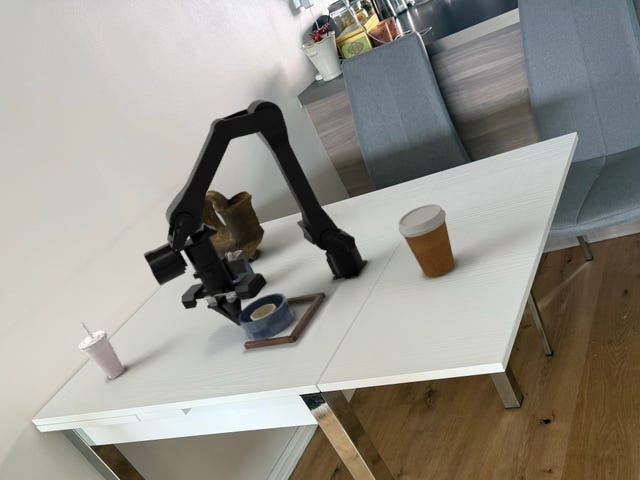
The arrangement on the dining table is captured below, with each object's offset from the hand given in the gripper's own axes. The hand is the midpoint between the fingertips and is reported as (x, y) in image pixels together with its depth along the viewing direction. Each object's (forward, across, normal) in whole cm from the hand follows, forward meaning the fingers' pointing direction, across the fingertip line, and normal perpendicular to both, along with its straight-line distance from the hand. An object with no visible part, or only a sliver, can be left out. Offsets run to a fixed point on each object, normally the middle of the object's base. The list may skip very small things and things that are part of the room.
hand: (241, 324), depth 146 cm
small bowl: (+1, -7, 0) cm, 7 cm away
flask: (+2, +9, -18) cm, 20 cm away
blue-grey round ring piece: (+2, -7, 0) cm, 7 cm away
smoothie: (+2, +31, +10) cm, 32 cm away
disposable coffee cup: (+1, -42, -12) cm, 44 cm away
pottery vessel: (+2, +22, -37) cm, 43 cm away
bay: (+2, -11, 0) cm, 11 cm away
